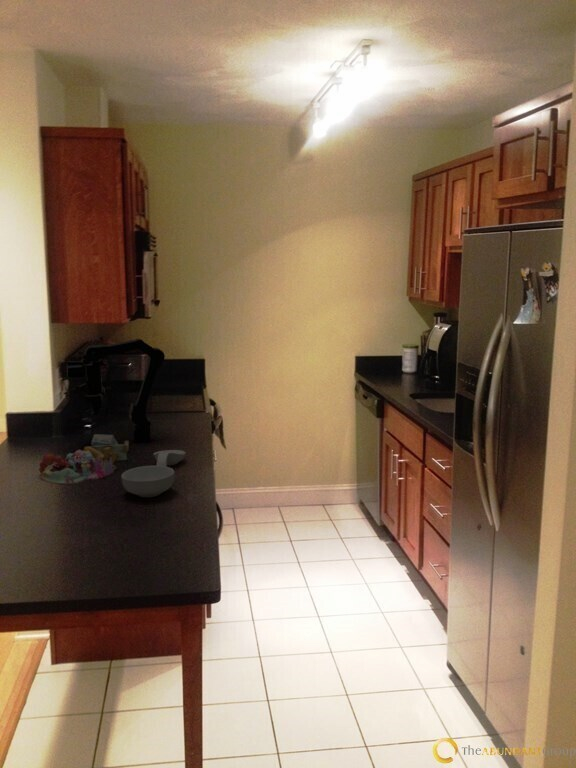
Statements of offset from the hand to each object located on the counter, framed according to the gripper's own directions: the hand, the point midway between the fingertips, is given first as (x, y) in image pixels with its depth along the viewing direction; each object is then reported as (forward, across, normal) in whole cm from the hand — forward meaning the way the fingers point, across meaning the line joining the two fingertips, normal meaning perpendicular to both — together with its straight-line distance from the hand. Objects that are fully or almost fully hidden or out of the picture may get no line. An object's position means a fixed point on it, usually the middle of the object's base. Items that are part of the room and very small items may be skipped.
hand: (96, 414), depth 280 cm
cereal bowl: (+13, +62, +21) cm, 67 cm away
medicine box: (+11, +15, +5) cm, 20 cm away
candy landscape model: (+13, +36, -4) cm, 38 cm away
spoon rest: (+13, +36, +27) cm, 47 cm away
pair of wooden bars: (+13, +15, +6) cm, 20 cm away
